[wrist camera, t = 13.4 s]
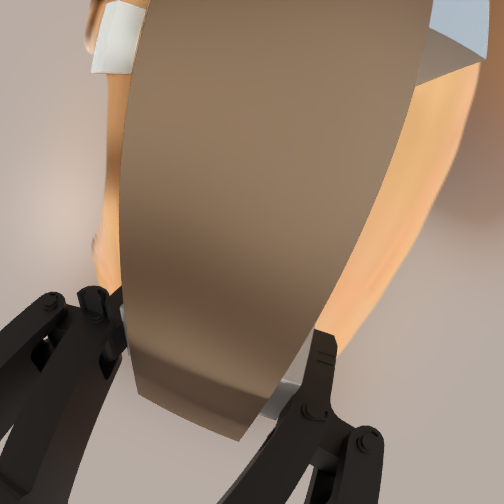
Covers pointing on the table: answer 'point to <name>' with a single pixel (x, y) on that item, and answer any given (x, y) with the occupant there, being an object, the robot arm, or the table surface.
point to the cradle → (118, 38)
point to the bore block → (454, 37)
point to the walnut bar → (251, 184)
